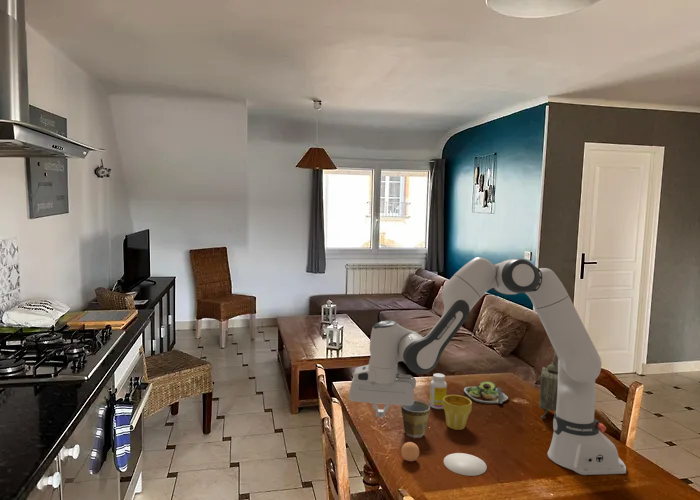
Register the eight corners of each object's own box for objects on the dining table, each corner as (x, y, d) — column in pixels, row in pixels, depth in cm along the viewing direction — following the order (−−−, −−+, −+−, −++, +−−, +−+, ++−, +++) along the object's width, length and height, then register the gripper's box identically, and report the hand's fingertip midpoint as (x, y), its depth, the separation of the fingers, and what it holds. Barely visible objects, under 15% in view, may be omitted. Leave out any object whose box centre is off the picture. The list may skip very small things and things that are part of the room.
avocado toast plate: (519, 406, 196) (520, 395, 196) (478, 408, 193) (479, 397, 192) (496, 389, 215) (497, 379, 215) (459, 390, 212) (459, 380, 211)
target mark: (482, 455, 154) (482, 454, 154) (490, 477, 141) (490, 476, 141) (441, 452, 155) (441, 451, 155) (446, 474, 142) (446, 473, 142)
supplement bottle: (449, 407, 192) (451, 376, 190) (437, 411, 188) (439, 379, 187) (437, 401, 197) (439, 371, 196) (425, 405, 193) (427, 374, 192)
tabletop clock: (540, 406, 195) (544, 346, 193) (564, 411, 192) (569, 350, 190) (537, 420, 182) (542, 356, 180) (563, 425, 179) (568, 360, 177)
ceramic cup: (432, 439, 164) (434, 411, 163) (404, 441, 162) (405, 412, 161) (420, 422, 177) (422, 396, 176) (394, 424, 175) (395, 397, 174)
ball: (418, 456, 152) (419, 439, 152) (419, 465, 147) (420, 448, 146) (400, 455, 153) (401, 438, 152) (401, 464, 147) (401, 446, 147)
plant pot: (471, 434, 169) (472, 407, 168) (441, 430, 171) (442, 403, 170) (469, 421, 179) (471, 396, 178) (441, 418, 181) (443, 393, 180)
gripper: (415, 372, 151) (413, 414, 152) (351, 367, 152) (349, 409, 153) (416, 379, 144) (414, 423, 146) (349, 374, 146) (347, 417, 147)
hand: (380, 416), depth 150 cm, fingers closed
